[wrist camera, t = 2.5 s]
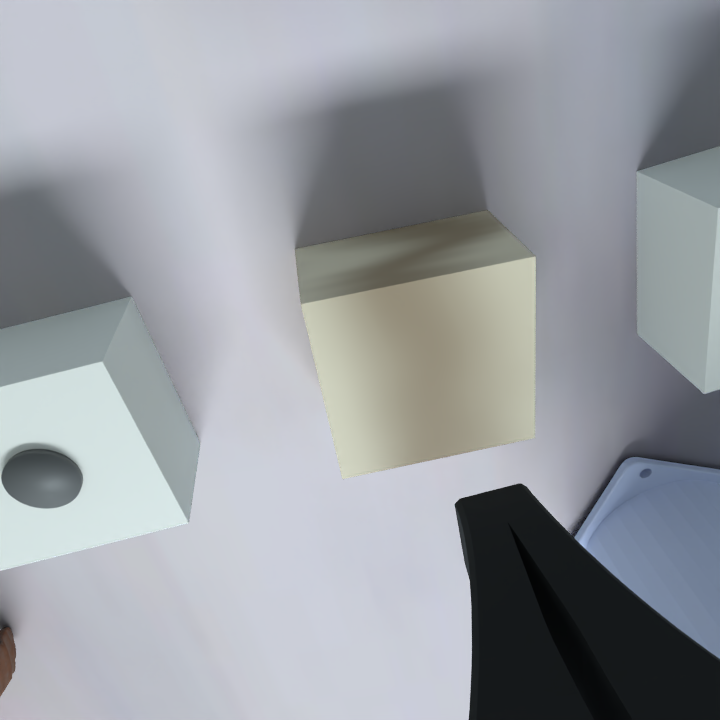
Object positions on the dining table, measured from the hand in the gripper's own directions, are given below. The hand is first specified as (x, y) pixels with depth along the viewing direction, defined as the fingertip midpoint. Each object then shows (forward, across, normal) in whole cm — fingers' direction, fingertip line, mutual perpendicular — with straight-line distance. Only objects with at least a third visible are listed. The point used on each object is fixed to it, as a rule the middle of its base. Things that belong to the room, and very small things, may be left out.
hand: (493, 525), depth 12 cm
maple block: (+9, 0, 0) cm, 9 cm away
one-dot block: (+9, +11, 0) cm, 14 cm away
